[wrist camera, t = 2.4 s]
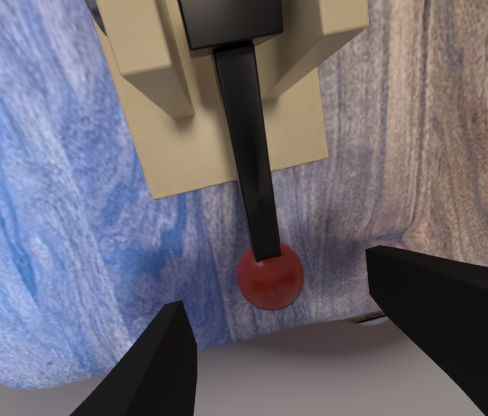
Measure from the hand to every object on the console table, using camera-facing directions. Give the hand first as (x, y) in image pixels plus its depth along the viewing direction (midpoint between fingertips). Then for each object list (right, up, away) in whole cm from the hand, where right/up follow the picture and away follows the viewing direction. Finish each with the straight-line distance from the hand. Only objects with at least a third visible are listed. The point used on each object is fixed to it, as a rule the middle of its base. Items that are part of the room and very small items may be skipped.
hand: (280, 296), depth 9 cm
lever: (-1, +5, +1) cm, 6 cm away
